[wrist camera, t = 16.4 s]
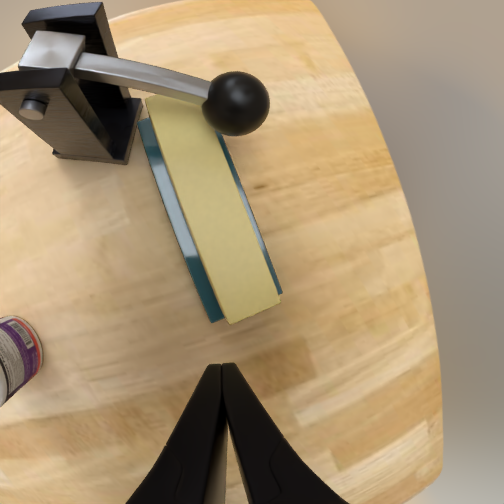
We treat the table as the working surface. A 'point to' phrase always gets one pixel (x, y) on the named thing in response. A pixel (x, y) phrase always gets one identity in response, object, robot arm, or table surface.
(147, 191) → the table surface
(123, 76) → the lever handle
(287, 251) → the table surface
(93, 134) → the stand
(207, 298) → the butter dish
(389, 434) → the table surface
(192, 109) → the butter
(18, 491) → the table surface
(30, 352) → the pill bottle
